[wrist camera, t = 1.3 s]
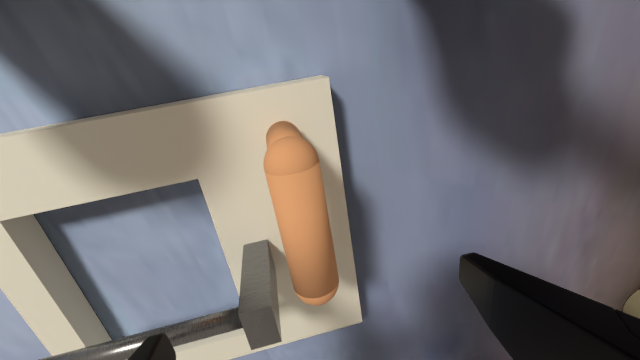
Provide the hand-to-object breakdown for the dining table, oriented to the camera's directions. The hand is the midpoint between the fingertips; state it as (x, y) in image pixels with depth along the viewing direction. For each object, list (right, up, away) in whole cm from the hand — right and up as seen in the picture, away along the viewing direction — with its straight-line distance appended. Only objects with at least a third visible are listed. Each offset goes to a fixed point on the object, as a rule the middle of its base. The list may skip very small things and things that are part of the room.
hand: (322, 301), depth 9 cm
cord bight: (-2, +3, +9) cm, 10 cm away
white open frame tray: (-8, -1, +11) cm, 14 cm away
